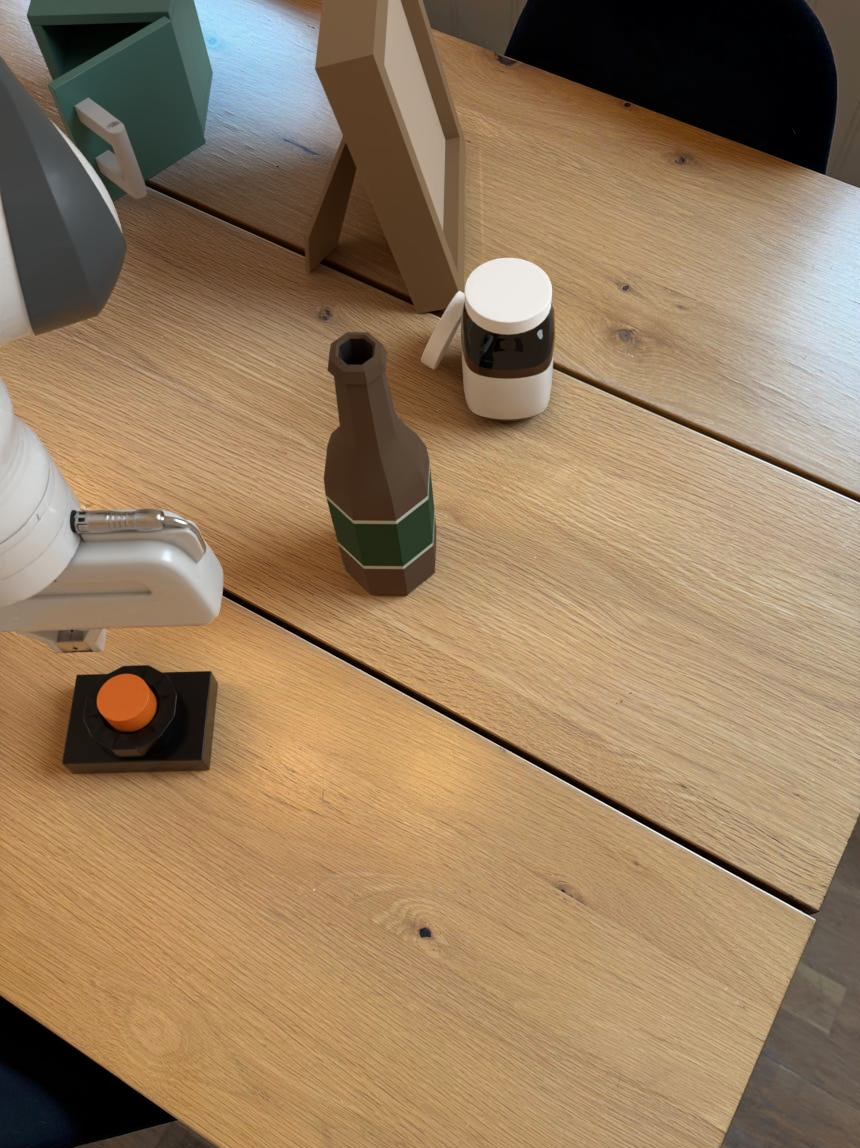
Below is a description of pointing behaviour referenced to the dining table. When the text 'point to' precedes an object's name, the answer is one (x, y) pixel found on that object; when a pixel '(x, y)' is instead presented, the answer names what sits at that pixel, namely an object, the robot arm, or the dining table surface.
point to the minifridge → (118, 35)
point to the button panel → (160, 745)
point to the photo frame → (393, 143)
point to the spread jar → (501, 339)
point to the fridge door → (131, 109)
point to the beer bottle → (377, 476)
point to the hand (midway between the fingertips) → (82, 642)
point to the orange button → (127, 702)
